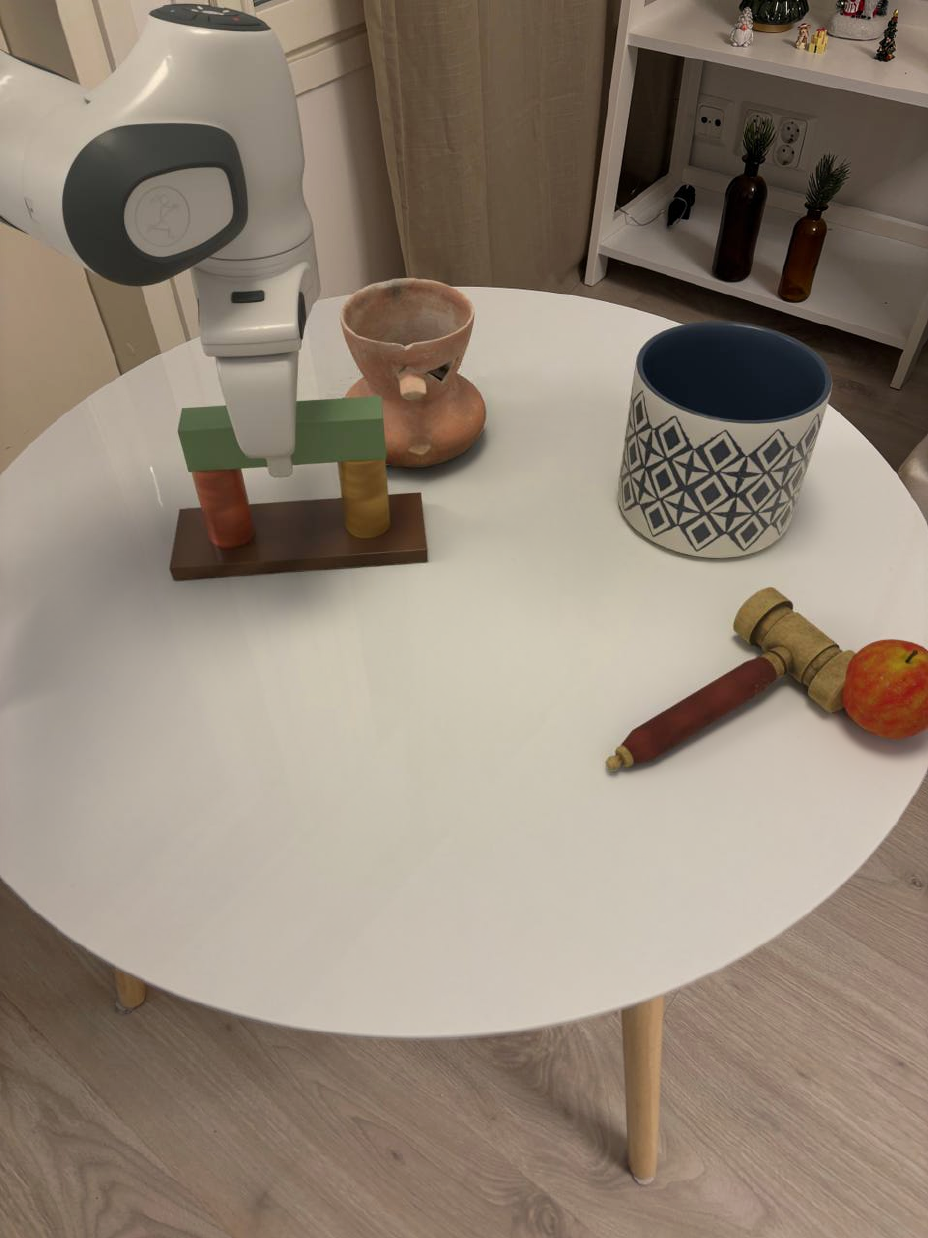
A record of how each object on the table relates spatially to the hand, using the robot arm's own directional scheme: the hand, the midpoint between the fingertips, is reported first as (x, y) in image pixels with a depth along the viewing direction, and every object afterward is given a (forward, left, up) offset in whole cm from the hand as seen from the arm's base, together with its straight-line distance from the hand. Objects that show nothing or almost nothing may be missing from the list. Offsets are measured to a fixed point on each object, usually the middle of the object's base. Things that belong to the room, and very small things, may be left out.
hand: (284, 436), depth 76 cm
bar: (0, 0, -2) cm, 2 cm away
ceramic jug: (+11, +15, -12) cm, 22 cm away
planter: (+37, +1, -11) cm, 39 cm away
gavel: (+31, -23, -12) cm, 40 cm away
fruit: (+43, -25, -11) cm, 51 cm away
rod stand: (0, 0, -11) cm, 11 cm away
